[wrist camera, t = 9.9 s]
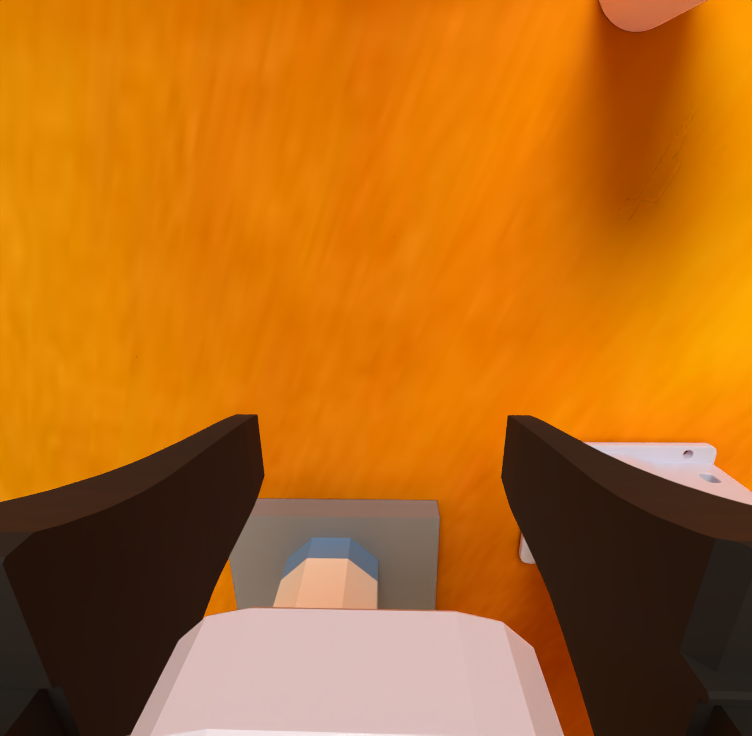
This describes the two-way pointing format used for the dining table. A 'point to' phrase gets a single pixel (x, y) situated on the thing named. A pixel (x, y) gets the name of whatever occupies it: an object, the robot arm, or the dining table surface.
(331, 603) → the sleeve
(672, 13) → the smoothie
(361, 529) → the pin board
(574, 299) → the dining table surface
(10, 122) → the dining table surface
